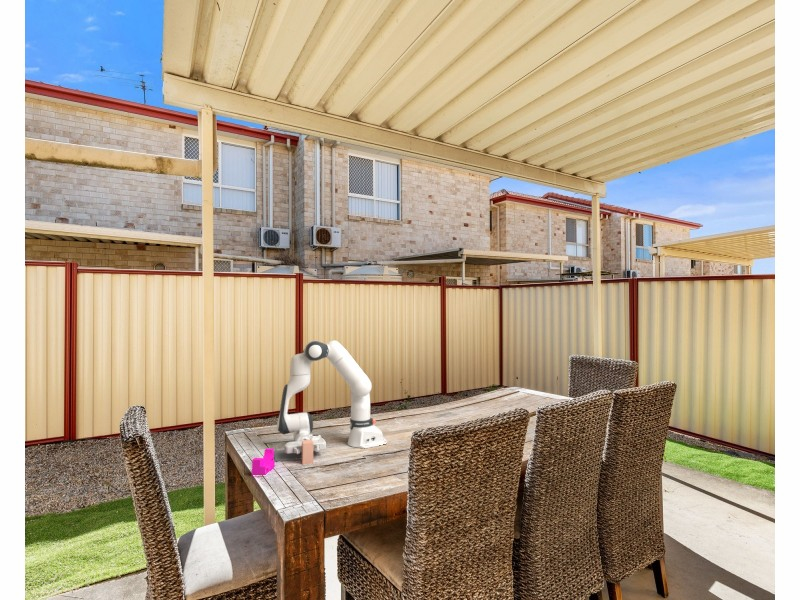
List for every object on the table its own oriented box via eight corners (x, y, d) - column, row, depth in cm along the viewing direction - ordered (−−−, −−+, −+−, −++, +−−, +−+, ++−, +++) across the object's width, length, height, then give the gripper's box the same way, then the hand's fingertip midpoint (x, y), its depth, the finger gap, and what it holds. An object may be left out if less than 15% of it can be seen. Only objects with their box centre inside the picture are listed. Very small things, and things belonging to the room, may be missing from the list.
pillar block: (311, 459, 199) (311, 439, 199) (313, 463, 194) (313, 442, 194) (301, 460, 197) (301, 440, 197) (302, 464, 192) (303, 443, 192)
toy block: (265, 477, 178) (265, 460, 178) (251, 476, 178) (252, 459, 178) (278, 464, 192) (278, 448, 193) (266, 463, 193) (266, 448, 193)
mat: (300, 449, 213) (300, 447, 213) (303, 458, 200) (303, 457, 200) (273, 452, 208) (273, 450, 208) (275, 462, 195) (275, 460, 195)
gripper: (283, 438, 204) (286, 447, 191) (323, 434, 211) (328, 442, 198) (283, 450, 204) (285, 460, 191) (323, 446, 211) (327, 455, 198)
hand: (307, 451), depth 195 cm, fingers open, 8 cm apart
